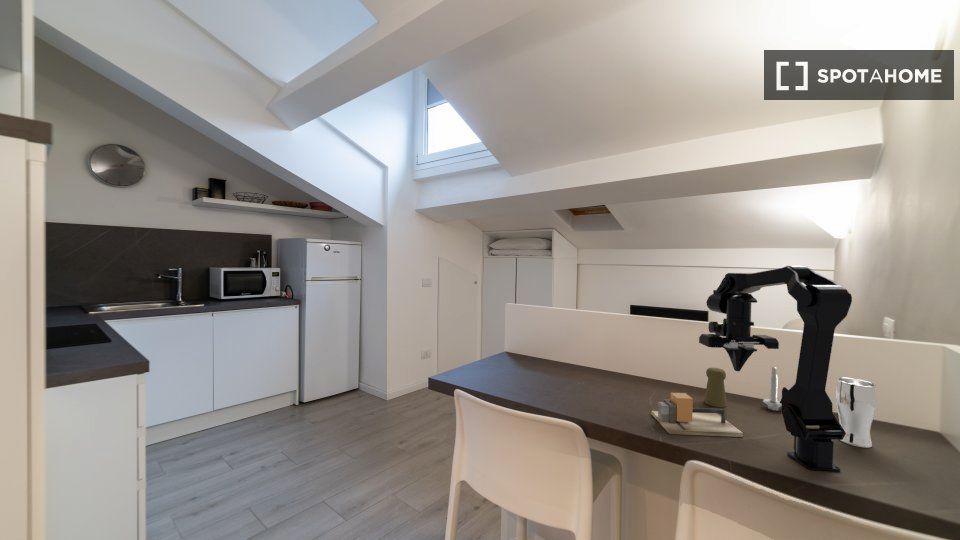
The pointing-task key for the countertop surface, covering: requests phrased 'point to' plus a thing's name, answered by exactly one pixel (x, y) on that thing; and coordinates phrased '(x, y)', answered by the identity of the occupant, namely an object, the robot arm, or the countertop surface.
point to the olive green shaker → (715, 388)
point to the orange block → (683, 406)
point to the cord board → (695, 421)
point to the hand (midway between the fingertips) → (737, 370)
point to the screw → (773, 392)
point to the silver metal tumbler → (856, 410)
